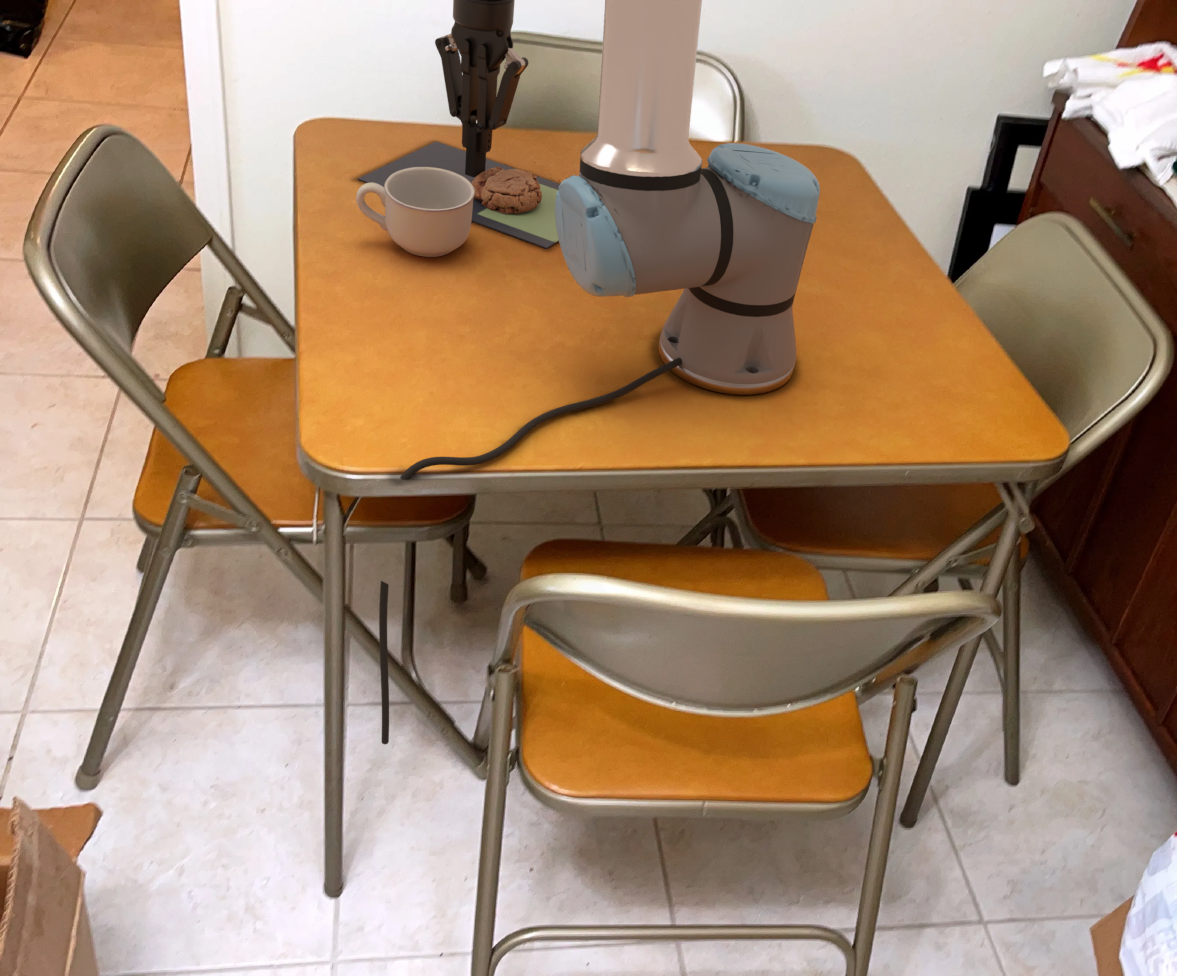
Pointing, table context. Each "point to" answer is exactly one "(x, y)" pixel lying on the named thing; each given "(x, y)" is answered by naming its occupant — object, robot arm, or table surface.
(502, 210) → the cookie
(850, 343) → the table surface
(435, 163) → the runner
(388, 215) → the teacup
